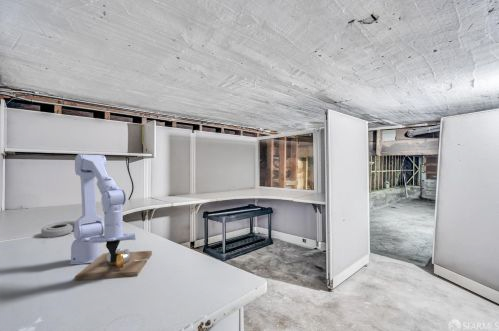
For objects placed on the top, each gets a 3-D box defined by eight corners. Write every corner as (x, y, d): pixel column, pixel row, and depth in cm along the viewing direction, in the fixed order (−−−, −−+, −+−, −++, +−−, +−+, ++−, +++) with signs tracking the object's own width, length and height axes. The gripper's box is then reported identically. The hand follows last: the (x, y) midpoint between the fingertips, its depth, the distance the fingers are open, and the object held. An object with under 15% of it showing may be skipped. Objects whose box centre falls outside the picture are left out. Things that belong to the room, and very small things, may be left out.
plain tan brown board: (74, 280, 82) (75, 275, 82) (103, 257, 103) (103, 253, 103) (140, 275, 85) (140, 271, 85) (154, 253, 107) (154, 250, 107)
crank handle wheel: (106, 259, 96) (106, 245, 96) (129, 256, 100) (129, 242, 100) (106, 273, 83) (106, 256, 83) (131, 268, 87) (131, 252, 87)
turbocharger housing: (33, 240, 133) (60, 240, 133) (33, 228, 133) (60, 228, 133) (58, 230, 150) (82, 230, 150) (57, 219, 150) (81, 219, 149)
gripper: (86, 227, 80) (86, 268, 80) (134, 224, 85) (134, 263, 85) (92, 223, 87) (92, 261, 87) (136, 220, 91) (136, 256, 91)
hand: (113, 261), depth 86 cm, fingers closed, pressing on crank handle wheel
